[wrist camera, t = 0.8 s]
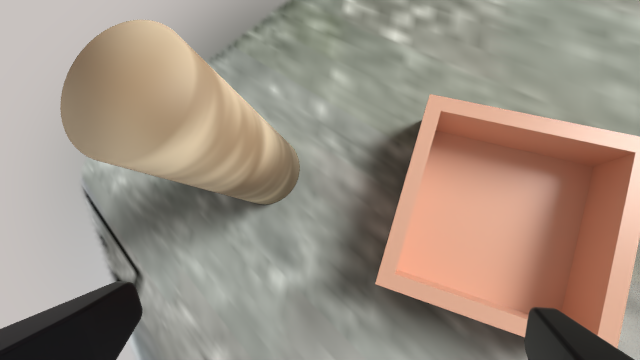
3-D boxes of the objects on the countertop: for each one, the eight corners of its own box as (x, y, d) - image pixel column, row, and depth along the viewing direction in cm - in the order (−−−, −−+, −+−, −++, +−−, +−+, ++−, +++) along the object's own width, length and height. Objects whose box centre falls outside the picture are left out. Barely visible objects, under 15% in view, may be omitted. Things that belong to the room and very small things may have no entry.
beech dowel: (280, 216, 22) (144, 188, 10) (222, 186, 24) (36, 128, 11) (311, 152, 23) (219, 45, 10) (252, 126, 24) (107, 3, 11)
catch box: (563, 340, 18) (613, 368, 14) (377, 275, 20) (375, 284, 16) (603, 160, 19) (658, 140, 15) (422, 119, 22) (429, 94, 18)
